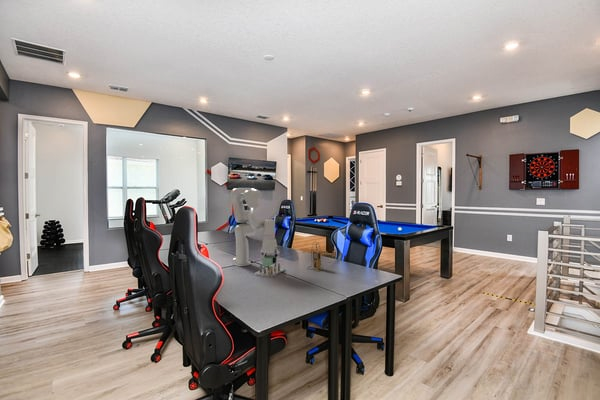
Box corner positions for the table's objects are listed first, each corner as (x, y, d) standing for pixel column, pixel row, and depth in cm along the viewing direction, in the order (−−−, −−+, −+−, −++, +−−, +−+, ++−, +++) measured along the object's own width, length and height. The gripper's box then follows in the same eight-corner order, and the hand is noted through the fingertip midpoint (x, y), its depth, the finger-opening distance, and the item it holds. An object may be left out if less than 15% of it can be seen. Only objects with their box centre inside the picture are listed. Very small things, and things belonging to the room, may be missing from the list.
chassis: (271, 277, 193) (271, 268, 193) (254, 274, 199) (254, 266, 199) (284, 270, 209) (284, 262, 209) (268, 268, 215) (268, 260, 215)
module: (270, 265, 197) (270, 257, 197) (262, 265, 199) (262, 256, 199) (277, 261, 209) (277, 253, 208) (269, 261, 210) (269, 253, 210)
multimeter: (302, 267, 216) (301, 241, 216) (313, 266, 221) (313, 240, 220) (311, 272, 203) (310, 244, 202) (323, 270, 207) (323, 243, 207)
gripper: (256, 237, 204) (256, 262, 204) (277, 238, 196) (278, 264, 197) (262, 235, 210) (262, 260, 211) (283, 237, 203) (283, 262, 203)
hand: (269, 262), depth 204 cm, fingers closed on module, 6 cm apart
